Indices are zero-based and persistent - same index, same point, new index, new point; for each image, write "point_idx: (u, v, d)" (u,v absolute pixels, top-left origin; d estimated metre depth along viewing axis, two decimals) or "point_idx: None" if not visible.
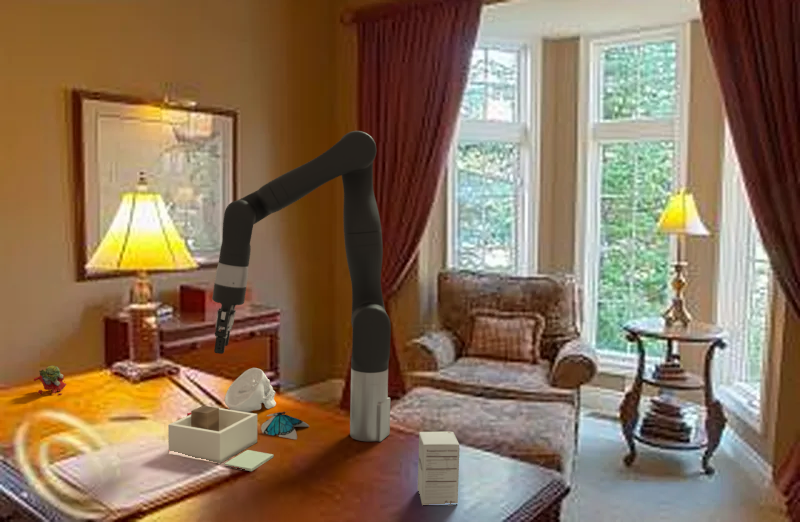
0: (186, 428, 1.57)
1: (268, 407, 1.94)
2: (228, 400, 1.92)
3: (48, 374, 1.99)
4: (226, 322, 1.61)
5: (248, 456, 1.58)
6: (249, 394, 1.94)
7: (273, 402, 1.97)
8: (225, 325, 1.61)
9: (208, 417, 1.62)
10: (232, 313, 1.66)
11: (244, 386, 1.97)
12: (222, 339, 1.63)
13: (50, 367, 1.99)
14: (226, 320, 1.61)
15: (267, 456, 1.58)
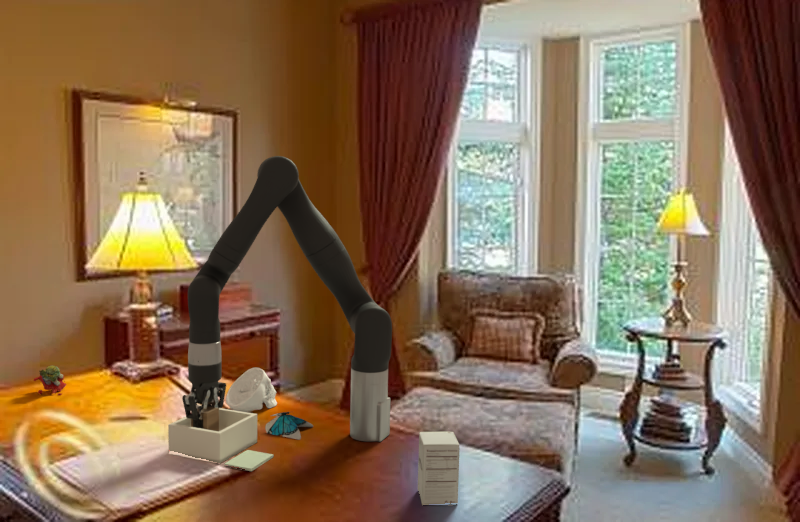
0: (186, 428, 1.57)
1: (269, 407, 1.94)
2: (229, 400, 1.92)
3: (48, 374, 1.99)
4: (191, 407, 1.58)
5: (248, 456, 1.58)
6: (250, 394, 1.95)
7: (274, 402, 1.97)
8: (191, 409, 1.58)
9: (208, 417, 1.62)
10: (205, 392, 1.62)
11: (245, 386, 1.97)
12: (197, 421, 1.61)
13: (50, 367, 1.99)
14: (190, 405, 1.58)
15: (267, 456, 1.58)
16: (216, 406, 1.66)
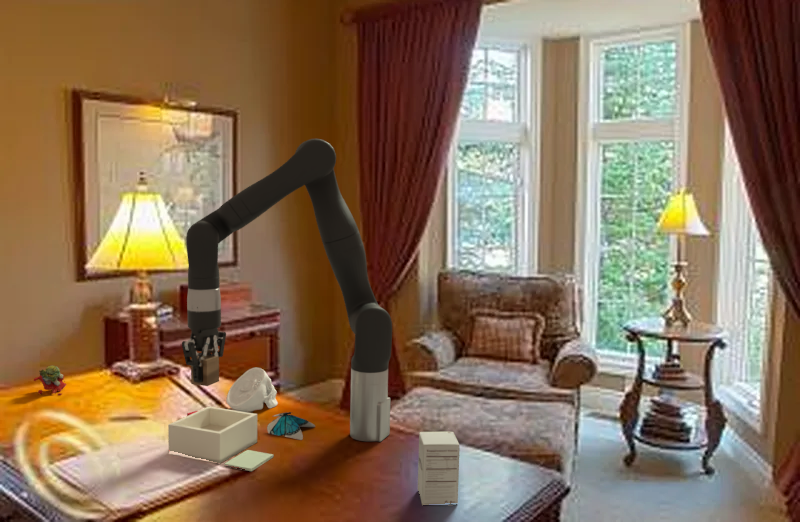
0: (186, 428, 1.57)
1: (270, 407, 1.94)
2: (230, 400, 1.92)
3: (48, 374, 1.99)
4: (191, 353, 1.57)
5: (248, 456, 1.58)
6: (251, 394, 1.95)
7: (275, 402, 1.97)
8: (191, 355, 1.57)
9: (208, 365, 1.61)
10: (205, 339, 1.60)
11: (246, 386, 1.97)
12: (196, 368, 1.60)
13: (50, 367, 1.99)
14: (190, 351, 1.57)
15: (267, 456, 1.58)
16: (216, 354, 1.65)
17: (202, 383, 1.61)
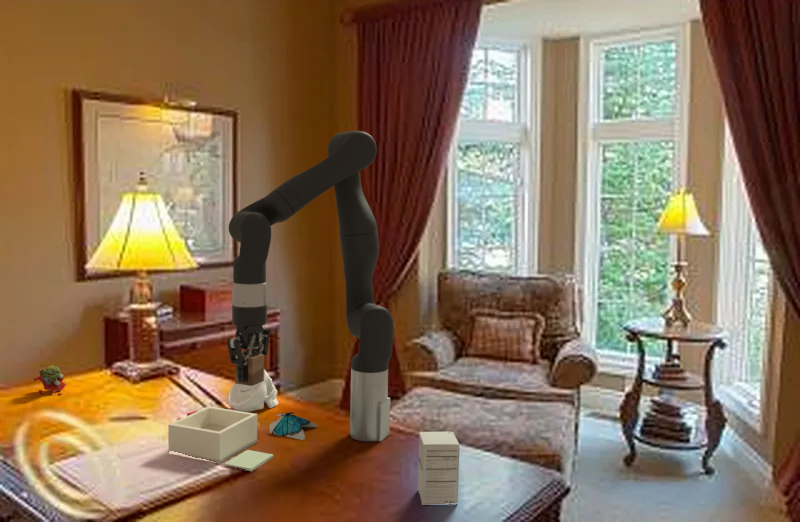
0: (186, 428, 1.57)
1: (271, 406, 1.95)
2: (231, 399, 1.92)
3: (48, 374, 1.99)
4: (236, 351, 1.48)
5: (248, 456, 1.58)
6: (252, 393, 1.95)
7: (275, 401, 1.98)
8: (237, 353, 1.48)
9: (253, 363, 1.52)
10: (251, 336, 1.52)
11: (247, 385, 1.97)
12: (241, 366, 1.51)
13: (50, 367, 1.99)
14: (236, 349, 1.48)
15: (267, 456, 1.58)
16: (261, 353, 1.57)
17: (247, 383, 1.53)
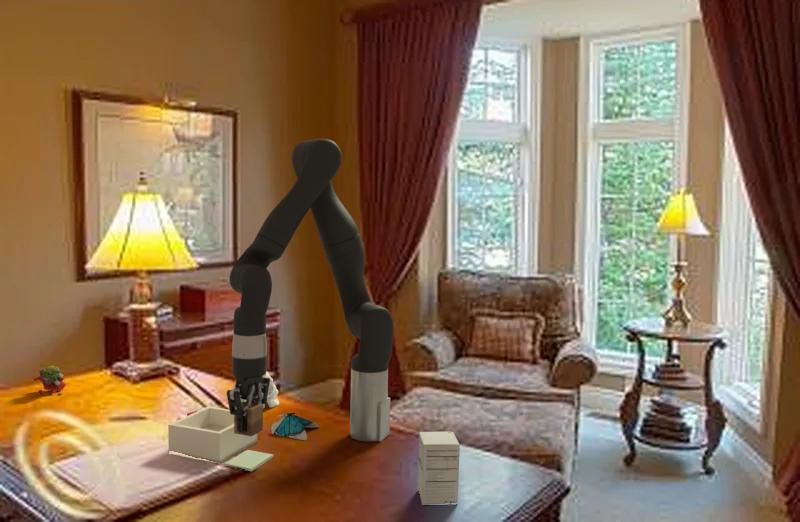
0: (186, 428, 1.57)
1: (271, 406, 1.95)
2: None
3: (48, 374, 1.99)
4: (236, 402, 1.49)
5: (248, 456, 1.58)
6: None
7: (276, 401, 1.98)
8: (236, 405, 1.49)
9: (252, 414, 1.53)
10: (250, 387, 1.53)
11: None
12: (241, 417, 1.52)
13: (50, 367, 1.99)
14: (235, 400, 1.49)
15: (267, 456, 1.58)
16: (260, 402, 1.58)
17: (246, 433, 1.54)
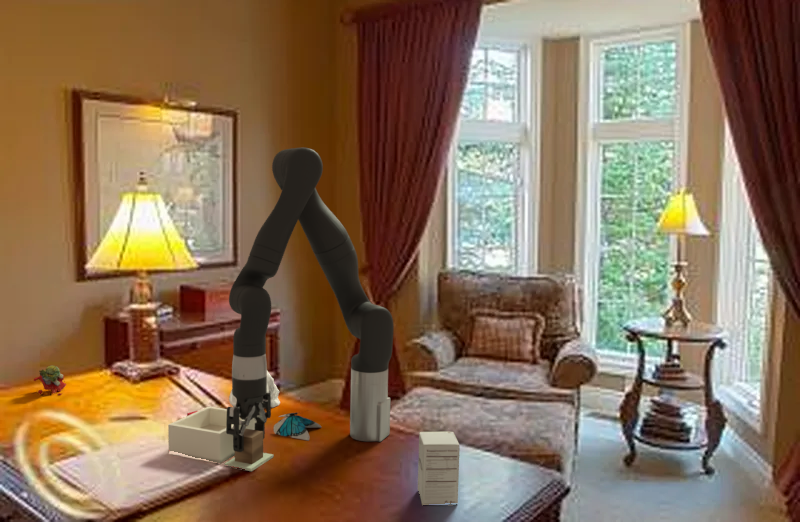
0: (186, 428, 1.57)
1: (272, 406, 1.95)
2: (233, 399, 1.93)
3: (48, 374, 1.99)
4: (235, 419, 1.49)
5: None
6: None
7: (277, 401, 1.98)
8: (234, 423, 1.49)
9: (253, 442, 1.54)
10: (251, 407, 1.53)
11: None
12: (237, 437, 1.51)
13: (50, 367, 1.99)
14: (234, 417, 1.49)
15: (267, 456, 1.58)
16: (264, 416, 1.60)
17: (247, 461, 1.54)
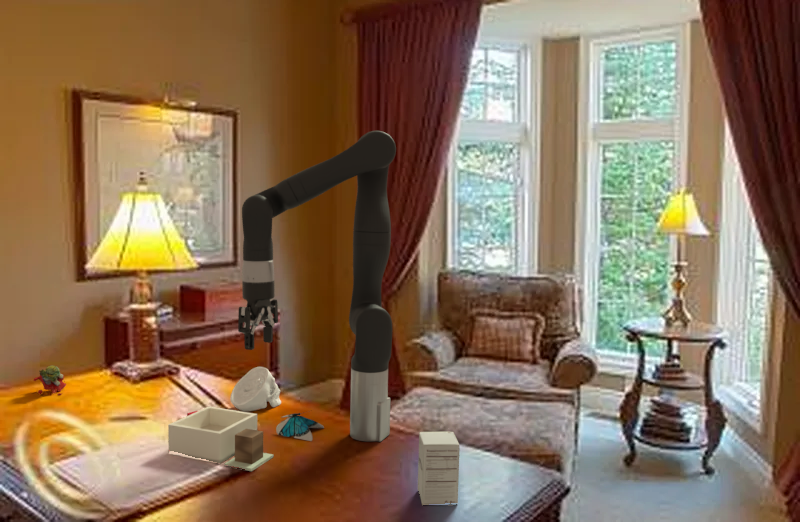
0: (186, 428, 1.57)
1: (273, 405, 1.95)
2: (234, 398, 1.93)
3: (48, 374, 1.99)
4: (246, 318, 1.61)
5: None
6: (254, 393, 1.96)
7: (278, 401, 1.98)
8: (245, 321, 1.61)
9: (253, 442, 1.54)
10: (260, 309, 1.65)
11: (249, 385, 1.98)
12: (248, 335, 1.63)
13: (50, 367, 1.99)
14: (246, 316, 1.61)
15: (267, 456, 1.58)
16: (272, 320, 1.72)
17: (247, 461, 1.54)
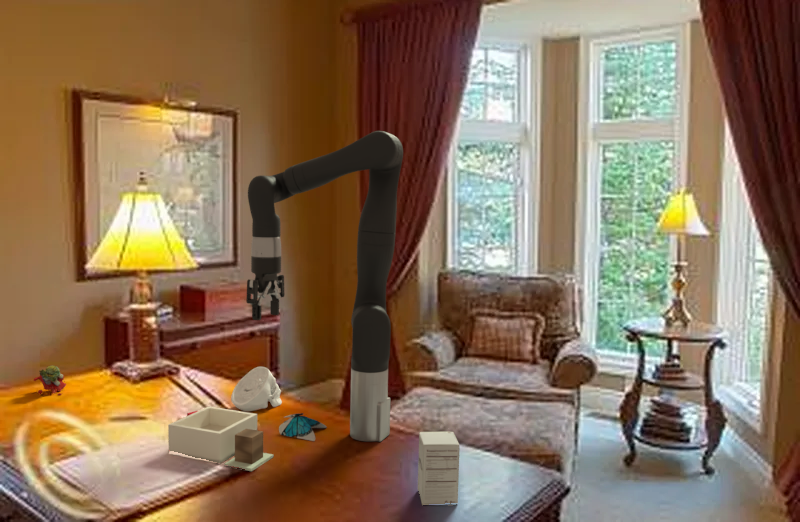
0: (186, 428, 1.57)
1: (274, 405, 1.96)
2: (235, 398, 1.93)
3: (48, 374, 1.99)
4: (254, 289, 1.72)
5: None
6: (255, 392, 1.96)
7: (279, 400, 1.99)
8: (253, 292, 1.72)
9: (253, 442, 1.54)
10: (267, 282, 1.76)
11: (250, 385, 1.98)
12: (256, 306, 1.74)
13: (50, 367, 1.99)
14: (254, 288, 1.72)
15: (267, 456, 1.58)
16: (279, 294, 1.83)
17: (247, 461, 1.54)
